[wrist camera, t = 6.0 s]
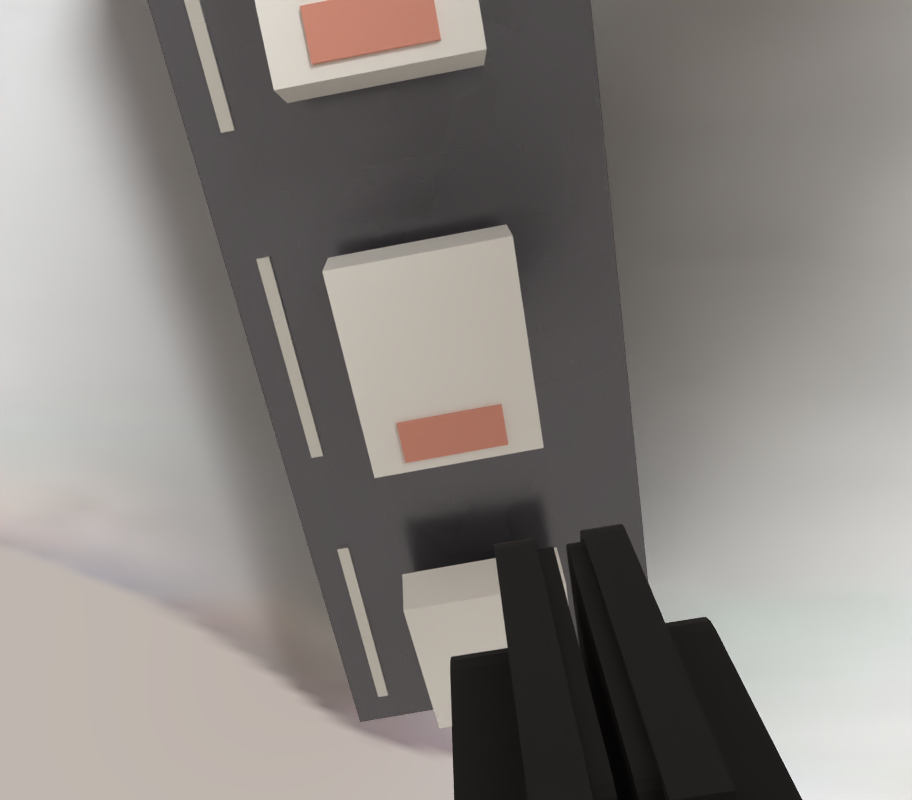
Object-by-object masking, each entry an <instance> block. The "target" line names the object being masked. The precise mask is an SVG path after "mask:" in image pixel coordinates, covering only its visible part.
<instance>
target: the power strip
mask: <svg viewBox="0 0 912 800" xmlns="http://www.w3.org/2000/svg"><path fill="white" fill-rule="evenodd" d="M148 3H149V7H150V10H151V14H152V17H153V20H154V24H155V27H156V30H157V34H158V37H159V41H160V44H161V47H162V51H163V54H164V58H165V61H166V64H167V68H168V71H169V75H170V78H171V81H172V85H173V88H174V92H175V95H176V98H177V102H178V105H179V109H180V112H181V115H182V119H183V122H184V125H185V129H186V132H187V136H188V139H189V142H190V146H191V149H192V153H193V156H194V159H195V163H196V166H197V170H198V173H199V176H200V180H201V183H202V187H203V190H204V193H205V197H206V200H207V203H208V207H209V210H210V214H211V217H212V220H213V224H214V227H215V231H216V234H217V237H218V241H219V244H220V248H221V251H222V254H223V258H224V261H225V265H226V268H227V271H228V275H229V278H230V281H231V285H232V288H233V292H234V295H235V298H236V302H237V305H238V309H239V312H240V315H241V319H242V322H243V326H244V329H245V332H246V336H247V339H248V343H249V346H250V349H251V353H252V356H253V359H254V363H255V366H256V370H257V373H258V376H259V380H260V383H261V387H262V390H263V393H264V397H265V400H266V404H267V407H268V410H269V414H270V417H271V421H272V424H273V427H274V431H275V434H276V438H277V441H278V444H279V448H280V451H281V454H282V458H283V461H284V465H285V468H286V471H287V475H288V478H289V482H290V485H291V488H292V492H293V495H294V499H295V502H296V505H297V509H298V512H299V516H300V519H301V522H302V526H303V529H304V532H305V536H306V539H307V543H308V546H309V549H310V553H311V556H312V560H313V563H314V566H315V570H316V573H317V577H318V580H319V583H320V587H321V590H322V594H323V597H324V600H325V604H326V607H327V610H328V614H329V617H330V621H331V624H332V627H333V631H334V634H335V638H336V641H337V644H338V648H339V651H340V655H341V658H342V661H343V665H344V668H345V672H346V675H347V678H348V682H349V685H350V689H351V692H352V695H353V699H354V702H355V705H356V709H357V712H358V716H359V719H360V722H362V721H368V720H374V719H380V718H386V717H392V716H397V715H403V714H409V713H415V712H421V711H427V710H432V709H433V706H432V703H431V700H430V697H429V693H428V690H427V687H426V683H425V680H424V677H423V674H422V670H421V667H420V664H419V660H418V657H417V654H416V651H415V647H414V644H413V641H412V637H411V634H410V631H409V628H408V624H407V621H406V618H405V614H404V611H403V579H402V574H407V573H413V572H418V571H424V570H430V569H435V568H441V567H447V566H453V565H458V564H464V563H470V562H475V561H481V560H487V559H492V558H496V557H495V549H494V544H498V543H505V542H511V541H517V540H523V539H529V538H535V541H536V545H537V549H538V548H545V547H551V546H553V547H554V548H555V547H557V551H558V555H559V558H560V562H561V566H562V570H563V574H564V578H565V581H566V588H567V596H568V605H569V609H570V613H571V617H572V621H573V625H574V629H575V632H576V636H577V640H578V633H577V626H576V618H575V611H574V604H573V596H572V589H571V581H570V574H569V567H568V559H567V552H566V544H569V543H576V542H581V541H580V530H585V529H591V528H597V527H604V526H610V525H616V524H623V526H624V527H625V529H626V532H627V534H628V536H629V539H630V541H631V544H632V546H633V548H634V551H635V553H636V555H637V558H638V560H639V562H640V565H641V567H642V570H643V572H644V574H645V577H646V579H647V581H648V577H647V567H646V557H645V547H644V537H643V527H642V517H641V507H640V497H639V487H638V477H637V466H636V456H635V446H634V436H633V426H632V416H631V406H630V396H629V386H628V376H627V366H626V356H625V346H624V336H623V326H622V316H621V305H620V295H619V285H618V275H617V265H616V255H615V245H614V235H613V225H612V215H611V205H610V195H609V185H608V175H607V165H606V155H605V144H604V134H603V124H602V114H601V104H600V94H599V84H598V74H597V64H596V54H595V44H594V34H593V24H592V14H591V4H590V0H479V5H480V11H481V17H482V23H483V30H484V36H485V42H486V48H487V50H486V56H485V62H484V65H483V66H477V67H472V68H467V69H462V70H457V71H452V72H446V73H441V74H436V75H431V76H426V77H420V78H415V79H410V80H405V81H400V82H394V83H389V84H384V85H379V86H374V87H369V88H363V89H358V90H353V91H348V92H343V93H337V94H332V95H327V96H322V97H317V98H312V99H306V100H301V101H296V102H291V103H287V102H286V101H284V100H283V99H282V98H281V97H280V96H279V95H278V94H277V93H276V92H275V91H274V89H273V84H272V80H271V75H270V70H269V66H268V61H267V56H266V52H265V47H264V42H263V38H262V33H261V28H260V24H259V19H258V14H257V9H256V5H255V0H148ZM506 224H507V226H508V228H509V230H510V232H511V234H512V235H513V241H514V248H515V255H516V261H517V268H518V275H519V282H520V289H521V296H522V302H523V309H524V316H525V323H526V330H527V337H528V344H529V350H530V357H531V364H532V371H533V378H534V385H535V391H536V398H537V405H538V412H539V419H540V426H541V432H542V439H543V446H544V448H540V449H534V450H529V451H523V452H518V453H512V454H507V455H501V456H495V457H490V458H484V459H479V460H473V461H468V462H462V463H456V464H451V465H445V466H440V467H434V468H429V469H423V470H417V471H412V472H406V473H401V474H395V475H389V476H384V477H378V478H374V474H373V470H372V466H371V462H370V458H369V454H368V450H367V446H366V442H365V438H364V434H363V430H362V426H361V423H360V419H359V415H358V411H357V407H356V403H355V399H354V395H353V391H352V387H351V383H350V379H349V375H348V371H347V367H346V363H345V359H344V355H343V351H342V348H341V344H340V340H339V336H338V332H337V328H336V324H335V320H334V316H333V312H332V308H331V304H330V300H329V296H328V292H327V288H326V284H325V280H324V276H323V273H322V271H323V269H324V266H325V264H326V262H327V259H328V258H329V257H335V256H340V255H345V254H351V253H356V252H361V251H367V250H372V249H378V248H383V247H388V246H394V245H399V244H404V243H410V242H415V241H420V240H426V239H431V238H436V237H442V236H447V235H452V234H458V233H463V232H468V231H474V230H479V229H484V228H490V227H495V226H500V225H506ZM578 644H579V640H578Z"/></svg>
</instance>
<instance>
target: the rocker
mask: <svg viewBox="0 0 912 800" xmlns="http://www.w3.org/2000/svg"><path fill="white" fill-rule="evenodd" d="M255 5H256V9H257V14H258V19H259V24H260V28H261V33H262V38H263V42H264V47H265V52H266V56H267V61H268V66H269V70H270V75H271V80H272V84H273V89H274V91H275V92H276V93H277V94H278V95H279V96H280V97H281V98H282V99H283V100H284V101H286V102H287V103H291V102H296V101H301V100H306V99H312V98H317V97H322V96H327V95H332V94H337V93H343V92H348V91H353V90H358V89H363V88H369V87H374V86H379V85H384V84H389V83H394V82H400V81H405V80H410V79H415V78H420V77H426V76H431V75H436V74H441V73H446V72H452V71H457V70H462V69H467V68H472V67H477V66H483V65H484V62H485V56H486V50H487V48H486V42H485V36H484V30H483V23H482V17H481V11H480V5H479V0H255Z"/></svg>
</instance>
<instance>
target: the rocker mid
mask: <svg viewBox="0 0 912 800" xmlns="http://www.w3.org/2000/svg"><path fill="white" fill-rule="evenodd" d="M322 273H323V276H324V280H325V284H326V288H327V292H328V296H329V300H330V304H331V308H332V312H333V316H334V320H335V324H336V328H337V332H338V336H339V340H340V344H341V348H342V351H343V355H344V359H345V363H346V367H347V371H348V375H349V379H350V383H351V387H352V391H353V395H354V399H355V403H356V407H357V411H358V415H359V419H360V423H361V426H362V430H363V434H364V438H365V442H366V446H367V450H368V454H369V458H370V462H371V466H372V470H373V474H374V478H378V477H384V476H389V475H395V474H401V473H406V472H412V471H417V470H423V469H429V468H434V467H440V466H445V465H451V464H456V463H462V462H468V461H473V460H479V459H484V458H490V457H495V456H501V455H507V454H512V453H518V452H523V451H529V450H534V449H540V448H544V446H543V439H542V432H541V426H540V419H539V412H538V405H537V398H536V391H535V385H534V378H533V371H532V364H531V357H530V350H529V344H528V337H527V330H526V323H525V316H524V309H523V302H522V296H521V289H520V282H519V275H518V268H517V261H516V255H515V248H514V241H513V235H512V234H511V232H510V230H509V228H508V226H507V224H506V225H500V226H495V227H490V228H484V229H479V230H474V231H468V232H463V233H458V234H452V235H447V236H442V237H436V238H431V239H426V240H420V241H415V242H410V243H404V244H399V245H394V246H388V247H383V248H378V249H372V250H367V251H361V252H356V253H351V254H345V255H340V256H335V257H329V258H328V259H327V262H326V264H325V266H324V269H323V271H322Z"/></svg>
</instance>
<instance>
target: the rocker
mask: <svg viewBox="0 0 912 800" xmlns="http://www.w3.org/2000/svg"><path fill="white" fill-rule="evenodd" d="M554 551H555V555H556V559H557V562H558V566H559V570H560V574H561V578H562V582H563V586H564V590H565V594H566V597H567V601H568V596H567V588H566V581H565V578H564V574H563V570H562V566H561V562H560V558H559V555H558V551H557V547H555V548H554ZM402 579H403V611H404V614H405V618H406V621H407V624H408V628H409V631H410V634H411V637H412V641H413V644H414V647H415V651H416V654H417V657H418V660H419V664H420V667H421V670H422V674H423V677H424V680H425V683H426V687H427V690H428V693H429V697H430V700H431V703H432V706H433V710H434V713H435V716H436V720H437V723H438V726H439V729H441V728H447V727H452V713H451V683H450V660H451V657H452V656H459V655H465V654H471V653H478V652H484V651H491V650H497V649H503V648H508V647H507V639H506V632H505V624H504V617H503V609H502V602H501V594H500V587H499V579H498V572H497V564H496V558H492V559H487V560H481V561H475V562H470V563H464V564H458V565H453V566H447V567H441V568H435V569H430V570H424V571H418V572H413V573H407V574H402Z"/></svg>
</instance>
